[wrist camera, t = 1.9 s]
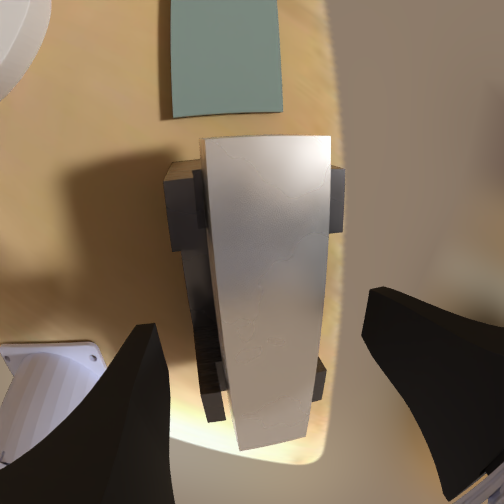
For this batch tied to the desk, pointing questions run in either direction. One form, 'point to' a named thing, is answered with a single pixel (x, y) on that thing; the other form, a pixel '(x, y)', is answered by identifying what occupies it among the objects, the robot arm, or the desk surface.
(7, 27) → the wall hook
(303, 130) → the desk surface
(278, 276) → the silver rail
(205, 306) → the dark grey slotted rack
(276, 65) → the rubber mat
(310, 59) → the desk surface
